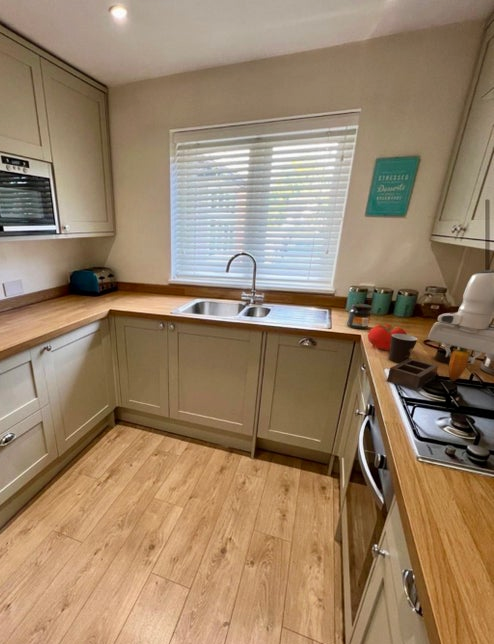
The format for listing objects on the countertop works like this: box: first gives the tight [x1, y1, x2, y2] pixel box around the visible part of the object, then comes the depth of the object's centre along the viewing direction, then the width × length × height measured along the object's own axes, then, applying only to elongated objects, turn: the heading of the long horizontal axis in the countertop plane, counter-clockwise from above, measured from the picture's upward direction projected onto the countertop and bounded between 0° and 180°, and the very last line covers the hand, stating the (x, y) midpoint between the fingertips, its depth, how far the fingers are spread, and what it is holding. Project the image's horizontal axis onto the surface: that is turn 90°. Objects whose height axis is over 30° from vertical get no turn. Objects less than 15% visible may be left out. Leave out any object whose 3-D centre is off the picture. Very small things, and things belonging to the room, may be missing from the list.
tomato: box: [367, 324, 408, 351], centre depth 145 cm, size 14×16×10 cm
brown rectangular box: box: [386, 357, 439, 392], centre depth 114 cm, size 9×16×5 cm, turn 127°
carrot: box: [448, 347, 471, 383], centre depth 112 cm, size 5×5×15 cm
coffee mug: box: [388, 334, 418, 364], centre depth 131 cm, size 12×9×10 cm
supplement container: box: [346, 303, 373, 330], centre depth 176 cm, size 10×10×12 cm
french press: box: [433, 304, 475, 365], centre depth 129 cm, size 12×9×23 cm
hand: (458, 360), depth 112 cm, fingers closed on carrot, 4 cm apart
